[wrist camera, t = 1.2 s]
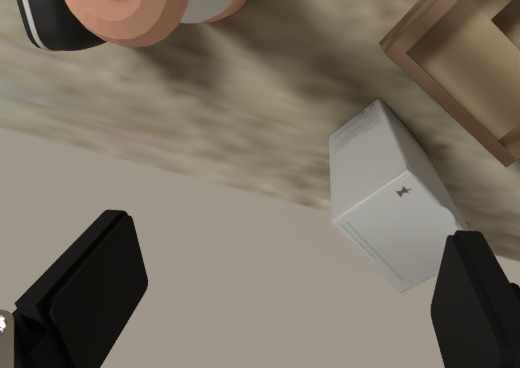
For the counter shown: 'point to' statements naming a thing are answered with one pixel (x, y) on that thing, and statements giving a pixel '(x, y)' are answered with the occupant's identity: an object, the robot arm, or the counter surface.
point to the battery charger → (55, 26)
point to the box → (464, 67)
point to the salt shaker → (146, 17)
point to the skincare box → (390, 197)
